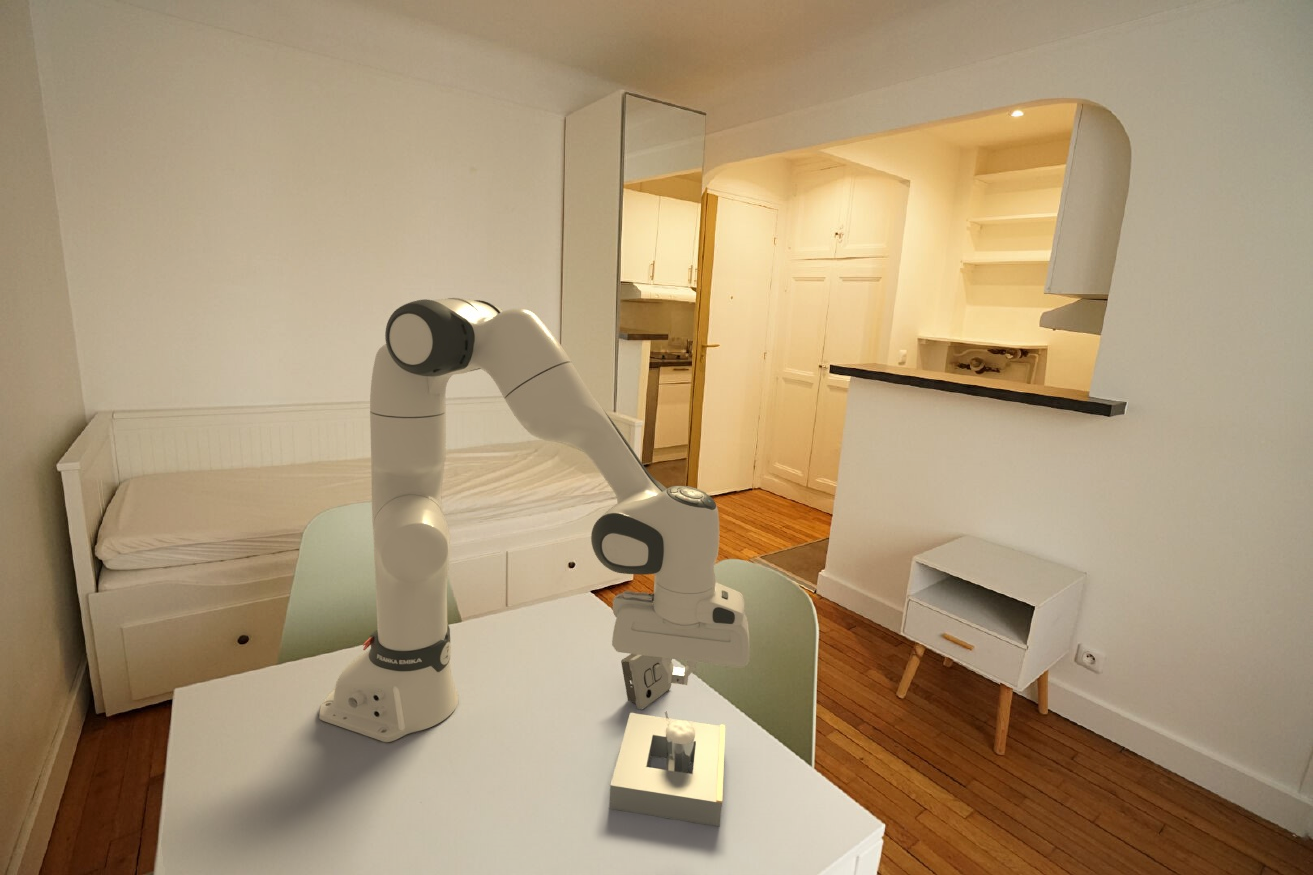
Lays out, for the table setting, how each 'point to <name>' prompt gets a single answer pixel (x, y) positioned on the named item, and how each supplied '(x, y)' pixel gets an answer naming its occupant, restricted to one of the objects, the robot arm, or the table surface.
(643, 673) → the electrical switch
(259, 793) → the table surface
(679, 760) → the milkshake
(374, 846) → the table surface
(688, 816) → the socket block
